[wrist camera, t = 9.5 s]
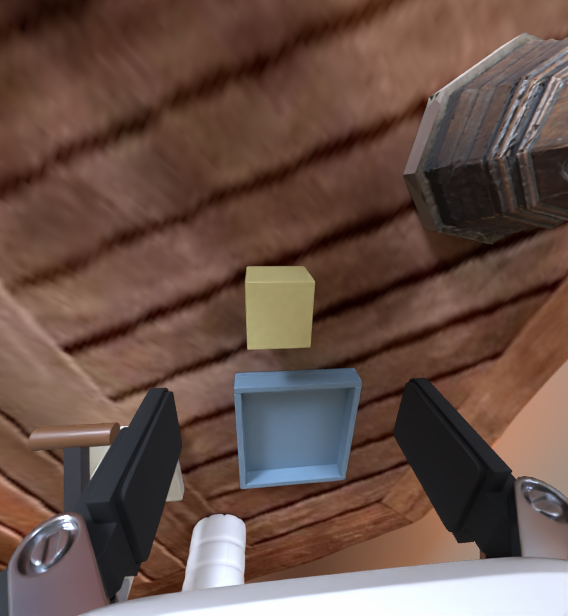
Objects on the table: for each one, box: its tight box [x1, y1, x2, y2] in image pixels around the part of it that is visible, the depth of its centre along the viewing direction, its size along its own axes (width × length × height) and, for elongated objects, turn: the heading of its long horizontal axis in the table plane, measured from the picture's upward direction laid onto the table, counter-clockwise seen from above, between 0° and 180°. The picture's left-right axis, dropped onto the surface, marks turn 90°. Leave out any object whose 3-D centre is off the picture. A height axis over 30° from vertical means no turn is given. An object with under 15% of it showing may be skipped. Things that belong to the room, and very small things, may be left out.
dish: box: [234, 368, 362, 489], centre depth 26 cm, size 13×11×2 cm
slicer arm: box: [28, 423, 120, 512], centre depth 18 cm, size 13×5×2 cm, turn 178°
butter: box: [245, 266, 315, 350], centre depth 19 cm, size 5×4×4 cm
